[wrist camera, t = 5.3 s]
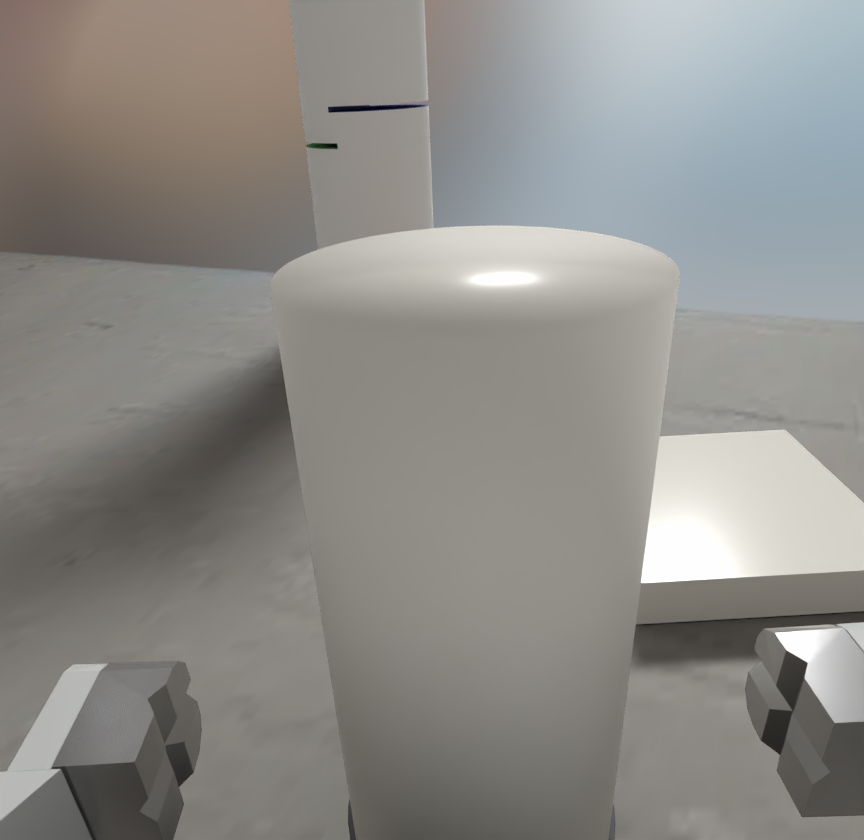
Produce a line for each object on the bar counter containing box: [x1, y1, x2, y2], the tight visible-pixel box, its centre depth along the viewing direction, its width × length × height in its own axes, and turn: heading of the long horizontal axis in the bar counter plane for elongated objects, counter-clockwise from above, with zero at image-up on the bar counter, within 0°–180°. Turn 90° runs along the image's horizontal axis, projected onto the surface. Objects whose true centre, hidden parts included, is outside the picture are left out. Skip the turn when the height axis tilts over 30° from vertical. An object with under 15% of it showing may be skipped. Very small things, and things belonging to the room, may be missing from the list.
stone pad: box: [636, 430, 864, 624], centre depth 22 cm, size 8×8×2 cm
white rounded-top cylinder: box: [270, 226, 680, 840], centre depth 11 cm, size 5×5×12 cm
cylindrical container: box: [289, 0, 433, 250], centre depth 38 cm, size 7×7×25 cm
